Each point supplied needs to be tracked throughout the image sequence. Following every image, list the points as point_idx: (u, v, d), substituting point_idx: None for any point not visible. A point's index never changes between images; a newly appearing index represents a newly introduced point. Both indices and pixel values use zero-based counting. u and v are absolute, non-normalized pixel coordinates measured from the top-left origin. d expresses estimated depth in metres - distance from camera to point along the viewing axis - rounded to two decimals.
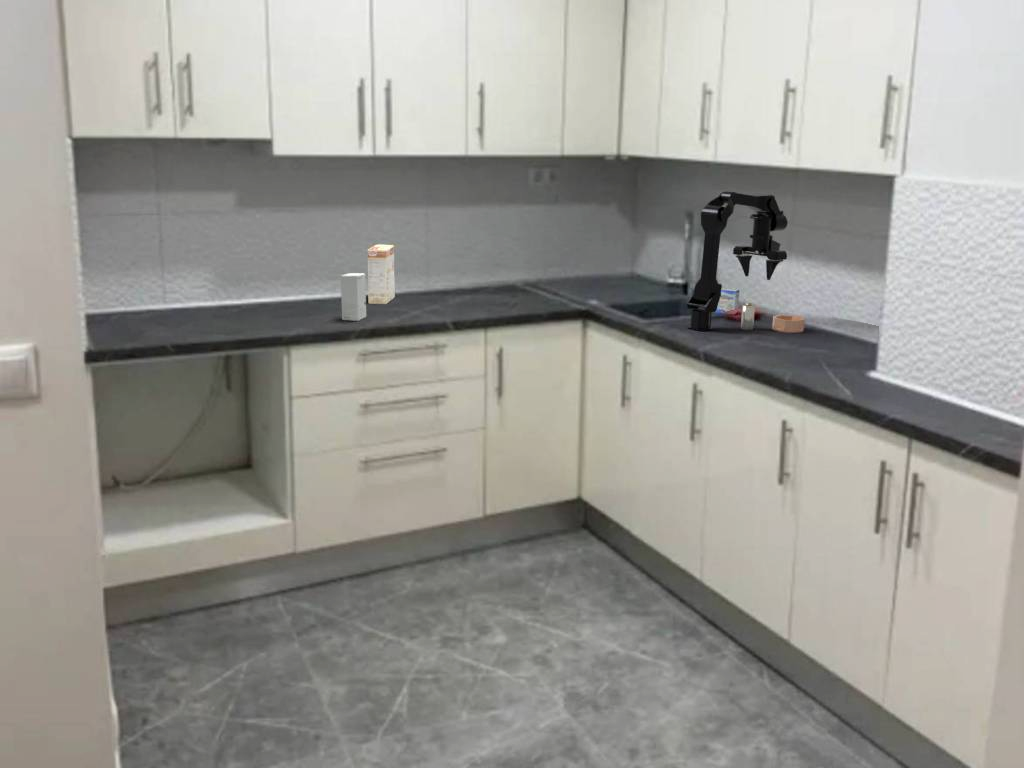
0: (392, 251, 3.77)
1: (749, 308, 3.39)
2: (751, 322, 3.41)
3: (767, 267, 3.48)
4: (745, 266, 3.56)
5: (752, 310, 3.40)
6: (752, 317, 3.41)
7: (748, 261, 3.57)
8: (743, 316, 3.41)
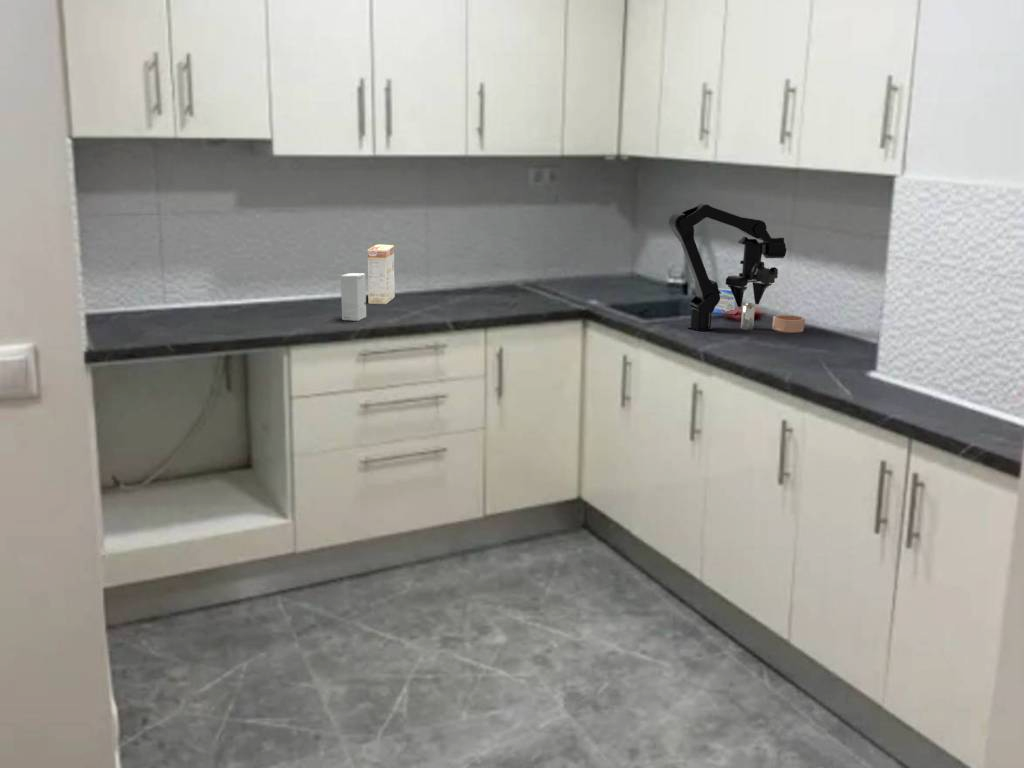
0: (392, 251, 3.77)
1: (749, 308, 3.39)
2: (751, 322, 3.41)
3: None
4: (755, 293, 3.44)
5: (752, 310, 3.40)
6: (752, 317, 3.41)
7: (760, 289, 3.42)
8: (743, 316, 3.41)
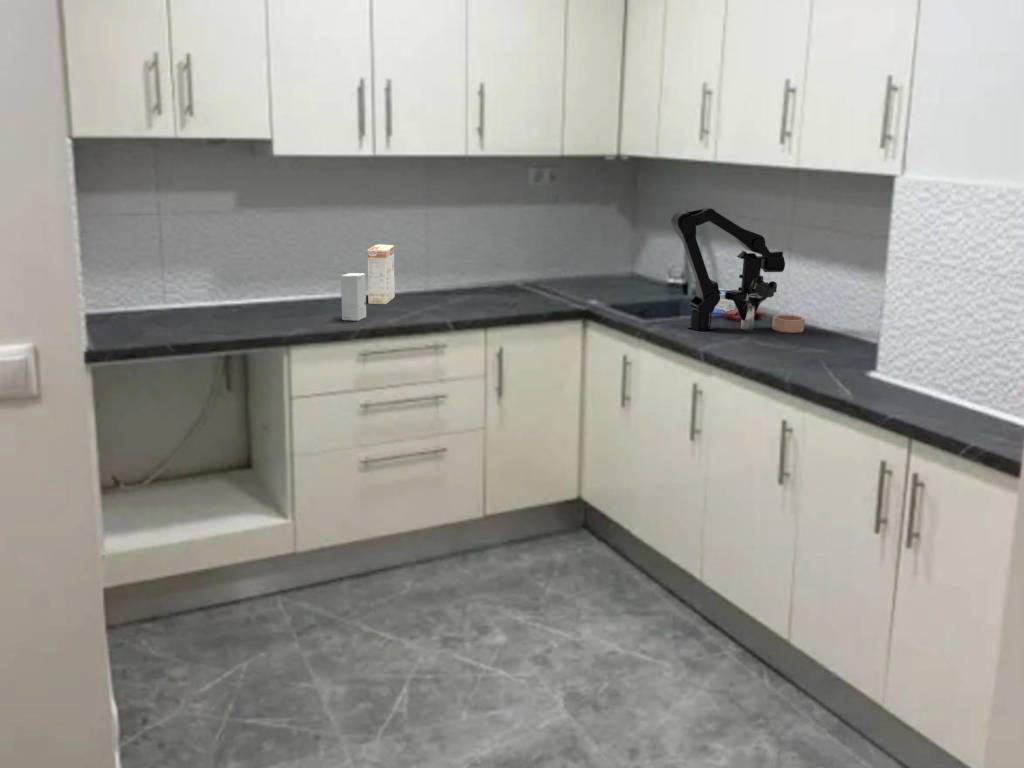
0: (392, 251, 3.77)
1: (749, 308, 3.39)
2: (751, 322, 3.41)
3: None
4: None
5: (752, 310, 3.40)
6: (752, 317, 3.41)
7: (754, 303, 3.42)
8: None
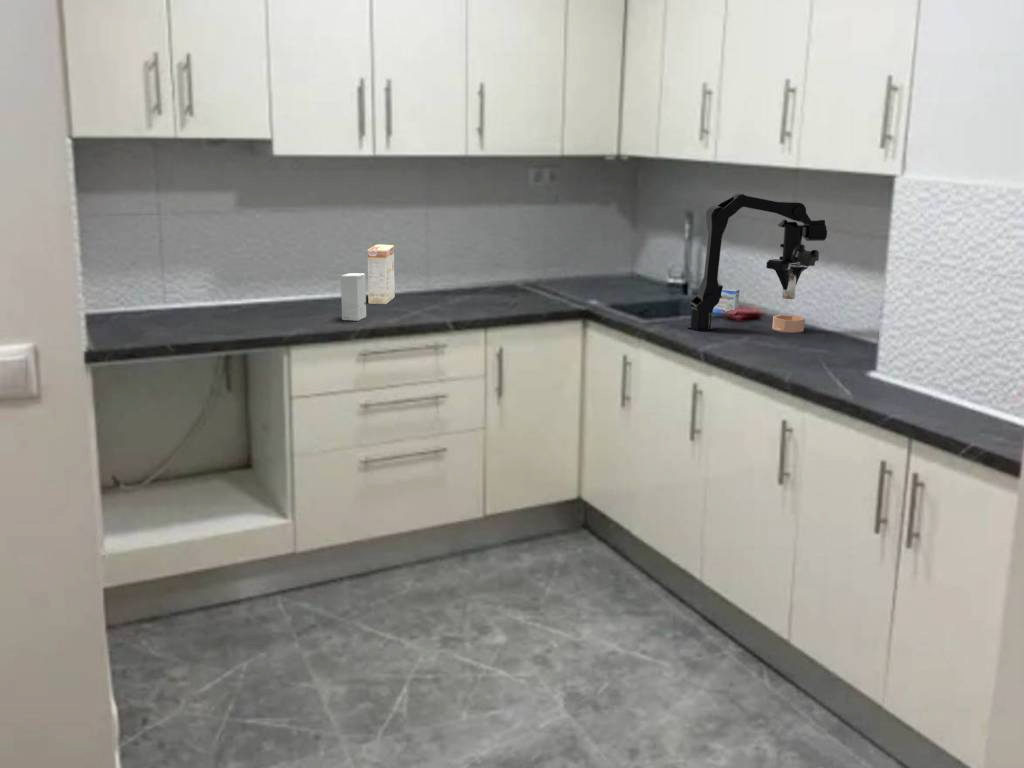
0: (392, 251, 3.77)
1: (791, 277, 3.36)
2: (793, 291, 3.38)
3: None
4: None
5: (794, 279, 3.37)
6: (794, 286, 3.38)
7: (796, 273, 3.39)
8: None
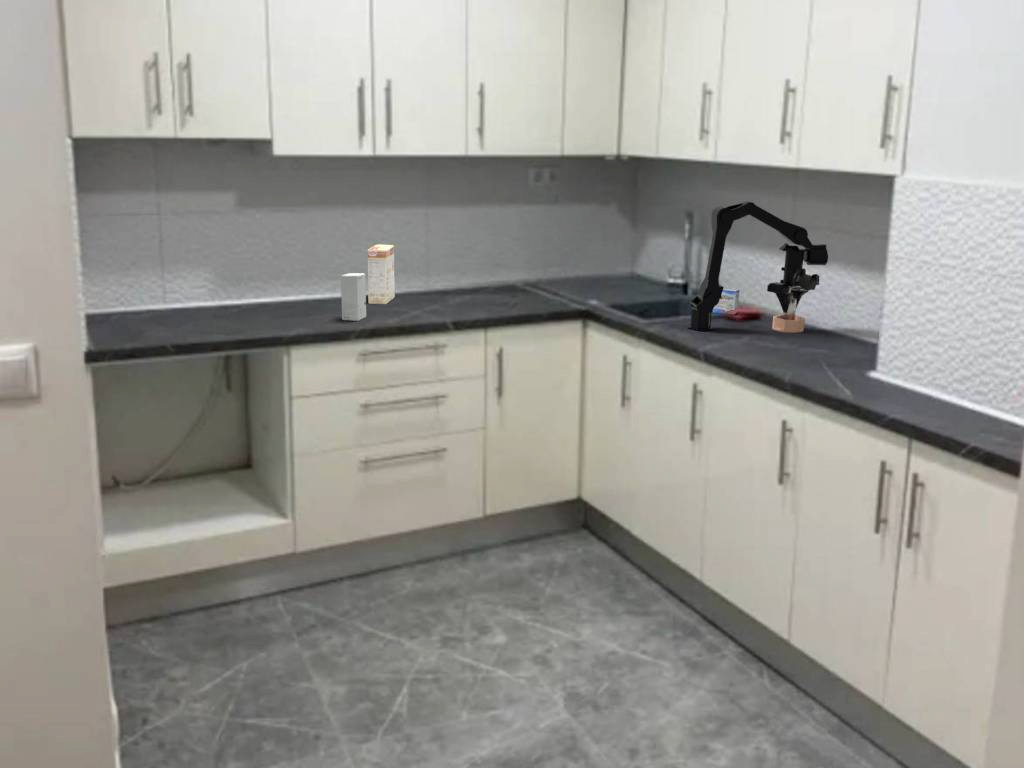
0: (392, 251, 3.77)
1: (791, 301, 3.38)
2: (793, 315, 3.40)
3: None
4: None
5: (794, 303, 3.39)
6: (794, 310, 3.39)
7: (796, 296, 3.41)
8: None
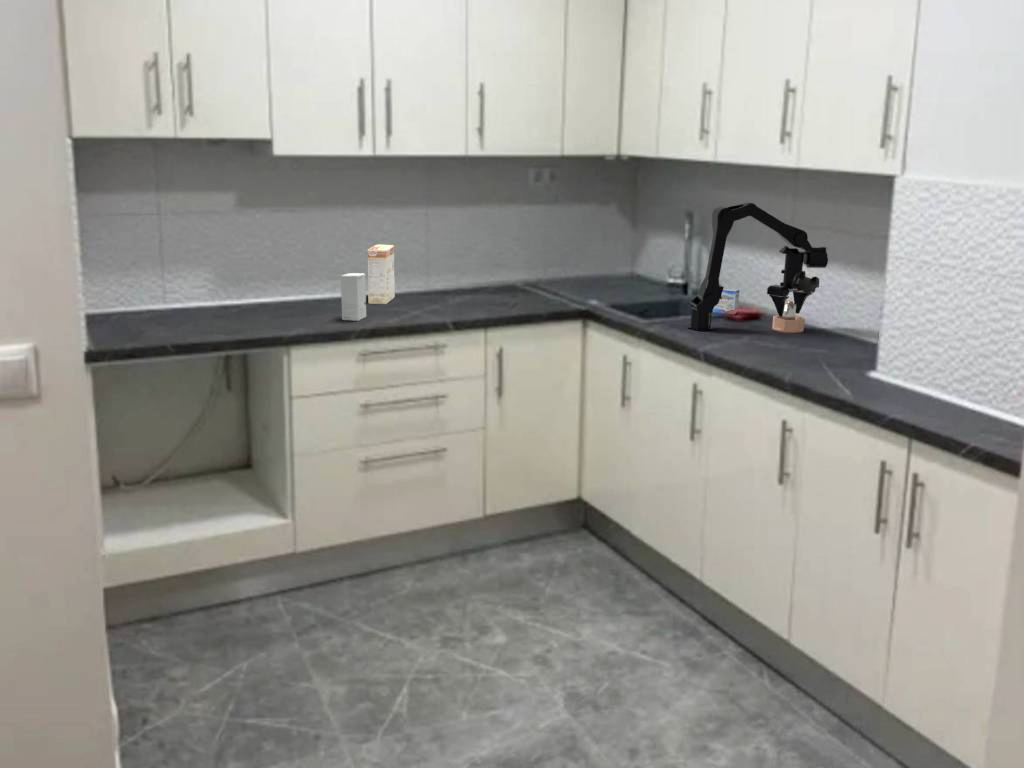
0: (392, 251, 3.77)
1: (791, 306, 3.39)
2: None
3: None
4: (795, 302, 3.44)
5: (794, 308, 3.39)
6: (794, 315, 3.40)
7: (801, 298, 3.43)
8: (784, 314, 3.40)
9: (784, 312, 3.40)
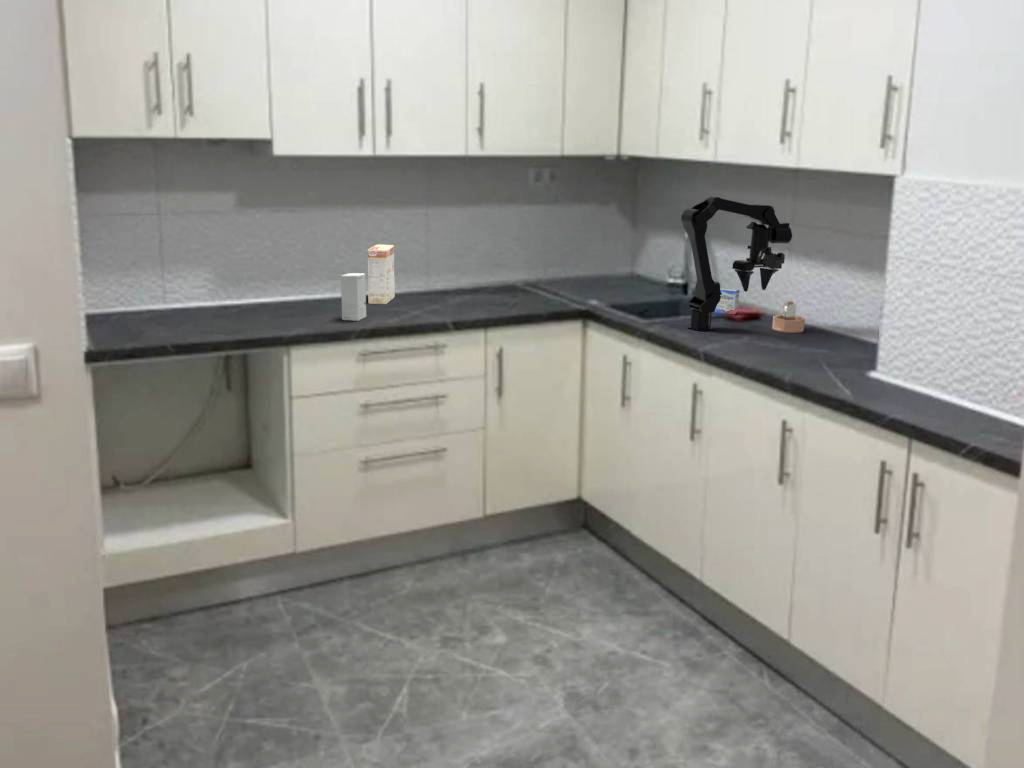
0: (392, 251, 3.77)
1: (791, 306, 3.39)
2: None
3: None
4: (762, 279, 3.46)
5: (794, 308, 3.39)
6: (794, 315, 3.40)
7: (767, 274, 3.45)
8: (784, 314, 3.40)
9: (784, 312, 3.40)
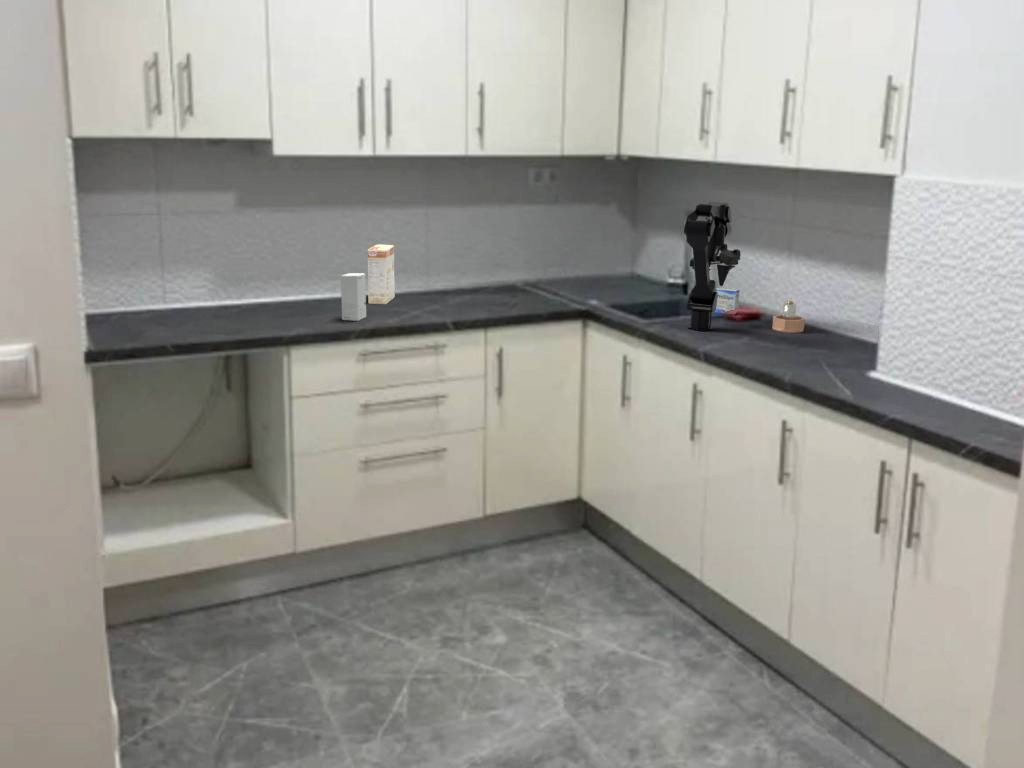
0: (392, 251, 3.77)
1: (791, 306, 3.39)
2: None
3: None
4: (719, 275, 3.52)
5: (794, 308, 3.39)
6: (794, 315, 3.40)
7: (724, 271, 3.51)
8: (784, 314, 3.40)
9: (784, 312, 3.40)
